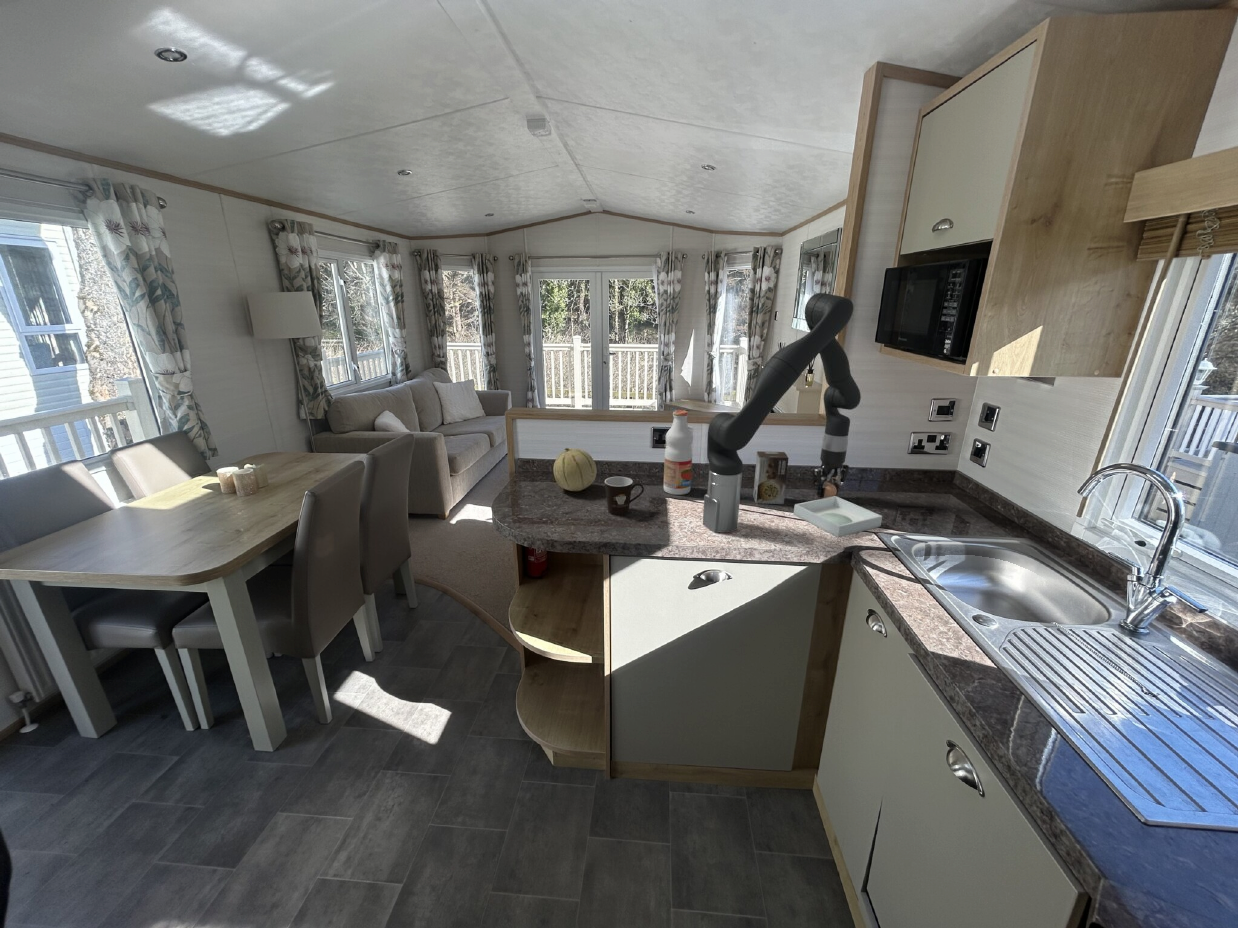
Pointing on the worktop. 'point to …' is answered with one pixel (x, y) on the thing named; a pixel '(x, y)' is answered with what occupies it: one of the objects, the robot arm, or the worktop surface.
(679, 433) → the fruit juice
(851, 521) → the tray
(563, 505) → the worktop surface
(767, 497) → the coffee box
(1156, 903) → the worktop surface
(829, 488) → the terracotta ball
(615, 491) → the coffee mug
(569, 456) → the cantaloupe
